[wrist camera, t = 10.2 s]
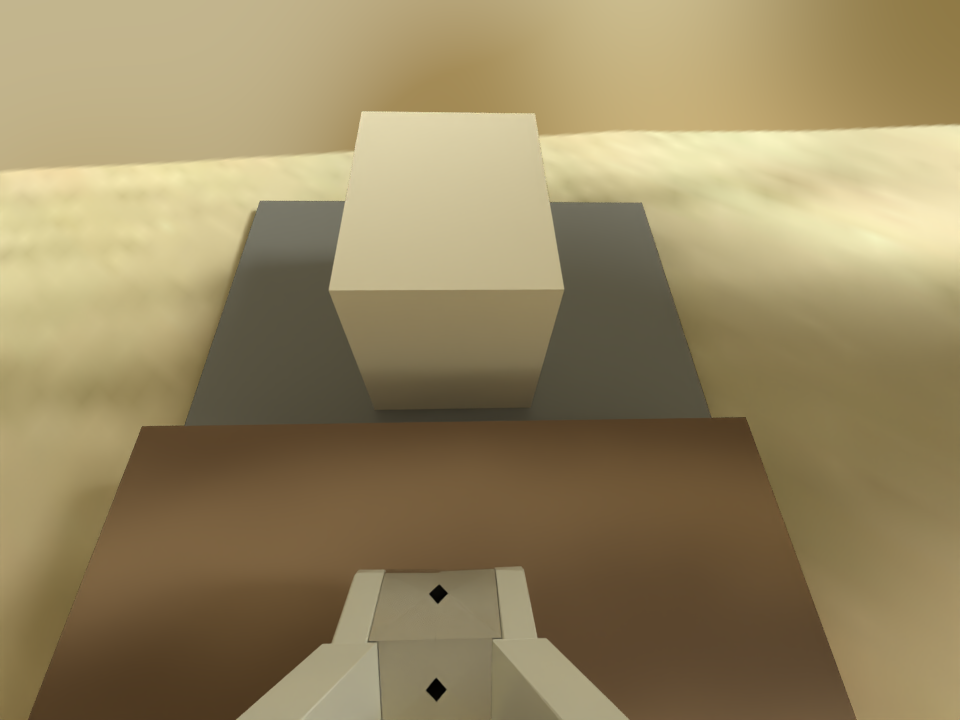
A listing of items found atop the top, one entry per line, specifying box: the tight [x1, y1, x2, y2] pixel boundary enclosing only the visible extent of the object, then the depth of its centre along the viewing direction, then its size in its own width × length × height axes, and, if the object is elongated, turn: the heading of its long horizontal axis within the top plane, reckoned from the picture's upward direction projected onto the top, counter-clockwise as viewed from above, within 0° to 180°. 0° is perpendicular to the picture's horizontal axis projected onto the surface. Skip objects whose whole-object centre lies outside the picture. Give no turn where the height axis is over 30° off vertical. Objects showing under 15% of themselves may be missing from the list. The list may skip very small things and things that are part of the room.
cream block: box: [329, 112, 564, 410], centre depth 17 cm, size 7×6×8 cm
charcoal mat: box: [184, 201, 711, 426], centre depth 20 cm, size 14×20×1 cm
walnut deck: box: [28, 417, 856, 720], centre depth 12 cm, size 12×18×4 cm, turn 92°
